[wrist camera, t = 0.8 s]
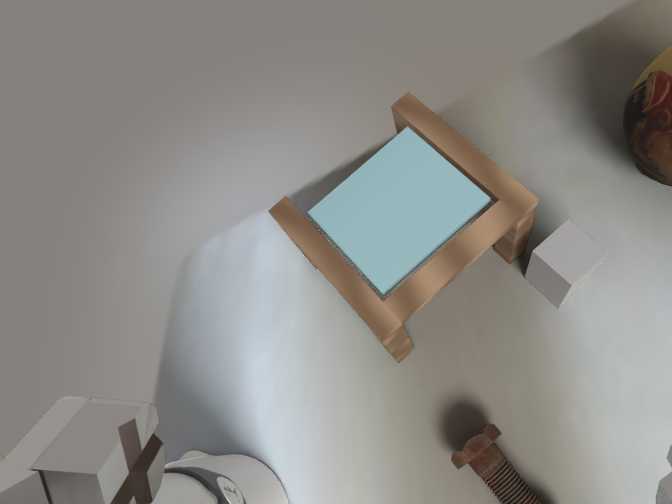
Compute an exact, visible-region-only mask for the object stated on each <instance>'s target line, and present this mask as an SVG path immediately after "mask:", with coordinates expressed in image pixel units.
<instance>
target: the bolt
mask: <svg viewBox="0 0 672 504" xmlns="http://www.w3.org/2000/svg"><path fill="white" fill-rule="evenodd" d="M501 434H502V433H501V432H500V431H499V429H498V428H497V427H496V426H495V425H494V424H488V425H486V426H485V427H484V428H482V429H481V430H480V431H479V432H478V433H476V434H475V435H474V436H473V437H472V438H470V439H469V440H468V441H467V442H465V443H464V444H463V445H462V446H461V447H459V448H458V449H457V450H456V451H455V452H454V453H453V454H452V457H451V461H452V462H453V463H454V465H455V466H456V467H457V469H460V468H461V467H463V466H464V465H466V464H467V463H468V464H469V465H470V466H471V467H472V468H473V470H474V471H475V472H476V473H477V475H478V476H480V477H481V478H482V479H483V481H486V482H485V483H486V484H488V487H490V490H493V491H492V492H493V493H495V496H498V497H497V499H500V502H502V504H543V503H541V500H538V497H536V494H535V493H534V494H533V491H532V490H531V488H528V485H526V482H523V479H521V476H518V473H516V470H514V467H511V464H509V461H507V459H506V458H505V457H504V454H503V453H502V452H501V450H500V449H499V448H498V447H497V445H496V444H495V443H494V441H495V440H496V439H497V438H498V437H499V436H500V435H501ZM506 461H507V462H506ZM530 490H531V491H530Z"/></svg>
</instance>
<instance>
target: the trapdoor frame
mask: <svg viewBox="0 0 672 504" xmlns="http://www.w3.org/2000/svg"><path fill="white" fill-rule="evenodd" d="M391 107H392V112H393V116H394V120H395V125H396V129H397V134H399V133H400V132H402V131H403V130H404V129H405V128H406V127H407V126H408V127H409V128H410V129H411V130H412V131H413V132H415V133H416V134H417V135H418V136H419V137H420V138H422V139H423V140H424V141H425V142H426V143H427V144H428V145H430V146H431V147H432V148H433V149H434V150H435V151H437V152H438V153H439V154H440V155H441V156H442V157H444V158H445V159H446V160H447V161H448V162H449V163H450V164H452V165H453V166H454V167H455V168H456V169H457V170H459V171H460V172H461V173H462V174H463V175H464V176H466V177H467V178H468V179H469V180H470V181H471V182H472V183H474V184H475V185H476V186H477V187H478V188H479V189H481V190H482V191H483V192H484V193H485V194H486V195H488V196H489V197H490V198H491V199H492V200H493V201H494V202H495V204H494V205H493V206H492V207H490V208H489V209H488V210H487V211H486V212H485V213H484V214H482V215H481V216H480V217H479V218H478V219H477V220H476V221H475V222H473V223H472V224H471V225H470V226H469V227H468V228H467V229H465V230H464V231H463V232H462V233H461V234H460V235H459V236H457V237H456V238H455V239H454V240H453V241H452V242H451V243H450V244H448V245H447V246H446V247H445V248H444V249H443V250H442V251H440V252H439V253H438V254H437V255H436V256H435V257H434V258H432V259H431V260H430V261H429V262H428V263H427V264H426V265H425V266H423V267H422V268H421V269H420V270H419V271H418V272H417V273H415V274H414V275H413V276H412V277H411V278H410V279H409V280H407V281H406V282H405V283H404V284H403V285H402V286H401V287H400V288H398V289H397V290H396V291H395V292H394V293H393V294H392V295H390V296H389V297H388V298H387V299H386V300H385V301H384V302H383V301H382V300H381V299H380V298H379V297H378V296H377V295H376V294H375V293H374V292H373V291H372V289H371V288H370V287H369V286H368V285H367V284H366V283H365V282H364V281H363V280H362V278H361V277H360V276H359V275H358V274H357V273H356V272H355V271H354V270H353V269H352V268H351V266H350V265H349V264H348V263H347V262H346V261H345V260H344V259H343V258H342V257H341V256H340V254H339V253H338V252H337V251H336V250H335V249H334V248H333V247H332V246H331V245H330V244H329V242H328V241H327V240H326V239H325V238H324V237H323V236H322V235H321V234H320V233H319V232H318V230H317V229H316V228H315V227H314V226H313V225H312V224H311V223H310V222H309V221H308V220H307V218H306V217H305V216H304V215H303V214H302V213H301V212H300V211H299V210H298V209H297V208H296V206H295V205H294V204H293V203H292V202H291V201H290V200H289V199H288V198H287V197H286V196H285V197H284V198H283V199H282V200H281V201H280V202H278V203H277V204H276V205H275V206H274V207H273V208H271V209H270V210H269V211H268V212H269V213H270V214H271V215H272V217H273V218H274V219H275V220H276V221H277V223H278V224H279V225H280V226H281V227H282V229H283V230H284V231H285V232H286V233H287V235H288V236H289V237H290V238H291V240H292V241H293V242H294V243H295V244H296V246H297V247H298V248H299V249H300V250H301V252H302V253H303V254H304V255H305V256H306V258H307V259H308V260H309V261H310V262H311V263H312V264H313V266H314V267H315V268H316V269H317V268H318V269H319V270H320V271H321V272H322V274H323V275H324V276H325V277H326V278H327V279H328V280H329V281H330V283H331V284H332V285H333V286H334V287H335V288H336V289H337V291H338V292H339V293H340V294H341V295H342V296H343V297H344V299H345V300H346V301H347V302H348V303H349V304H350V305H351V307H352V308H353V309H354V310H355V311H356V312H357V313H358V315H359V316H360V317H361V318H362V319H363V320H364V321H365V322H366V324H367V325H368V326H369V328H370V329H371V330H372V331H373V333H374V334H375V335H376V336H377V338H378V339H379V340H380V342H381V343H382V344H383V345H384V347H385V348H386V349H387V350H388V351H389V352H390V354H391V355H392V356H393V357H394V358H395V359H396V360H397V362H398V363H400V362H401V361H402V360H403V359H404V358H405V357H406V356H407V355H409V354H410V353H411V352H412V351H413V350H414V349H415V348H414V346H413V344H412V342H411V340H410V338H409V336H408V334H407V333H406V331H405V329H404V327H403V324H404V323H405V322H406V321H407V320H408V319H410V318H411V317H412V316H413V315H414V314H415V313H416V312H417V311H419V310H420V309H421V308H422V307H423V306H424V305H425V304H426V303H428V302H429V301H430V300H431V299H432V298H433V297H434V296H436V295H437V294H438V293H439V292H440V291H441V290H442V289H443V288H445V287H446V286H447V285H448V284H449V283H450V282H451V281H452V280H454V279H455V278H456V277H457V276H458V275H459V274H460V273H461V272H463V271H464V270H465V269H466V268H467V267H468V266H469V265H471V264H472V263H473V262H474V261H475V260H476V259H477V258H478V257H480V256H481V255H482V254H483V253H484V252H485V251H486V250H487V249H489V248H490V247H491V246H492V245H493V244H494V243H495V247H494V250H495V251H496V252H497V253H498V254H499V255H500V256H501V257H502V258H503V259H504V260H506V261H507V262H508V263H509V264H511V263H512V262H513V261H514V260H515V259H516V258H517V257H519V256H520V255H521V254H522V253H523V252H524V251H525V250H526V246H527V242H528V238H529V234H530V231H531V227H532V223H533V219H534V215H535V211H536V207H537V204H538V200H539V199H538V198H537V197H536V196H534V195H533V194H532V193H531V192H530V191H528V190H527V189H526V188H525V187H524V186H522V185H521V184H520V183H519V182H517V181H516V180H515V179H514V178H513V177H511V176H510V175H509V174H508V173H507V172H505V171H504V170H503V169H502V168H500V167H499V166H498V165H497V164H496V163H494V162H493V161H492V160H491V159H490V158H488V157H487V156H486V155H485V154H483V153H482V152H481V151H480V150H479V149H477V148H476V147H475V146H474V145H473V144H471V143H470V142H469V141H468V140H466V139H465V138H464V137H463V136H462V135H460V134H459V133H458V132H457V131H456V130H454V129H453V128H452V127H451V126H449V125H448V124H447V123H446V122H445V121H443V120H442V119H441V118H440V117H439V116H437V115H436V114H435V113H434V112H432V111H431V110H430V109H429V108H428V107H426V106H425V105H424V104H423V103H421V102H420V101H419V100H418V99H417V98H415V97H414V96H413V95H412V94H411V93H409V92H408V93H406V94H405V95H404V96H403V97H402V98H401V99H399V100H398V101H397V102H396V103H395V104H394V105H392V106H391Z"/></svg>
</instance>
